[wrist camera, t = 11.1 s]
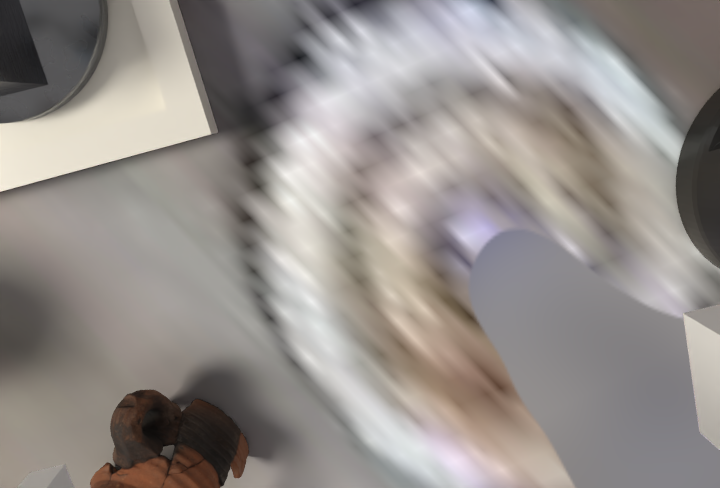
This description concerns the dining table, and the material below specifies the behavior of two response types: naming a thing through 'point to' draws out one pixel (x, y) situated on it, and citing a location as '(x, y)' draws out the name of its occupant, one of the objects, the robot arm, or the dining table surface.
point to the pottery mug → (171, 427)
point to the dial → (47, 53)
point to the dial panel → (117, 101)
